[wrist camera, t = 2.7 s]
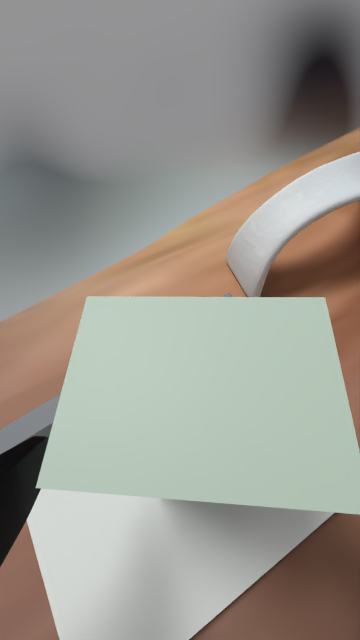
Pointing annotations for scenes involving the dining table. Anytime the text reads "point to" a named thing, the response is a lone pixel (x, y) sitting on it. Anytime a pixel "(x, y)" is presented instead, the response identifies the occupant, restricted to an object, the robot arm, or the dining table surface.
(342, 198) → the spoon rest
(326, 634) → the dining table surface
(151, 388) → the green carton
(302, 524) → the white plate with rail
